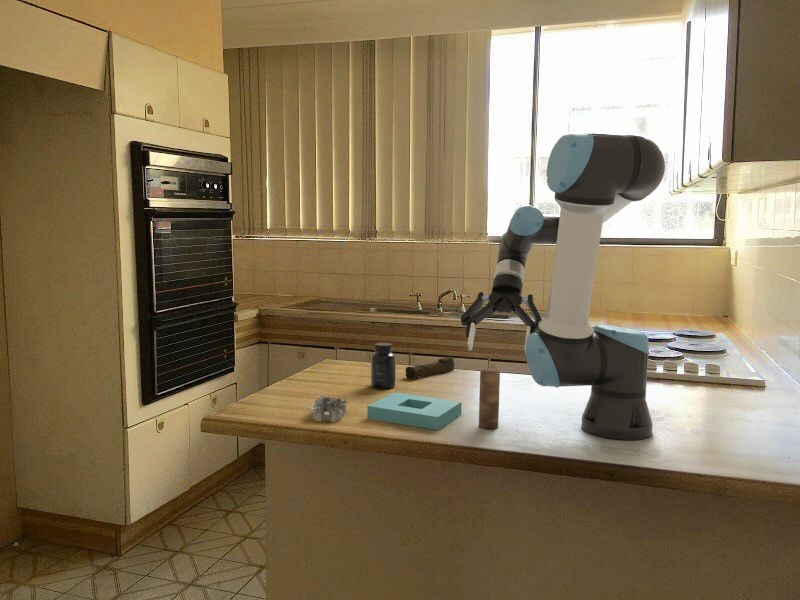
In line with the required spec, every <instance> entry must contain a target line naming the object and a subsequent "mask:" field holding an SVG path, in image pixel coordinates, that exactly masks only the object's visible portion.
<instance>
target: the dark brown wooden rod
mask: <svg viewBox="0 0 800 600" xmlns="http://www.w3.org/2000/svg"><path fill="white" fill-rule="evenodd" d="M451 370H452V371H454V370H455V361H454V358H453V357H452V356H447V357H441V358H439V359H438V361H434V362H430V363H425V364H419V365H415V366H406V367H405V377H406V379H408V380H414V379H416V380H417V379H418V378H420V377H424V376H429V375H434V374H438V373H439V374H447V373H449V372H452V371H451Z"/></svg>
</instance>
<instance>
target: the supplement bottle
mask: <svg viewBox="0 0 800 600" xmlns="http://www.w3.org/2000/svg"><path fill="white" fill-rule="evenodd" d="M373 351H374V353H373V354H371V357H370V385H371V387H372V388H374V389H377V390H378V389H380V390H388V389H393V388H395V386H396V365H397V364H396V361H397V360H396V359H397V357H396V355H395V354H394V353H393V343H389V342H376V343H375V344H374V350H373Z"/></svg>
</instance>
